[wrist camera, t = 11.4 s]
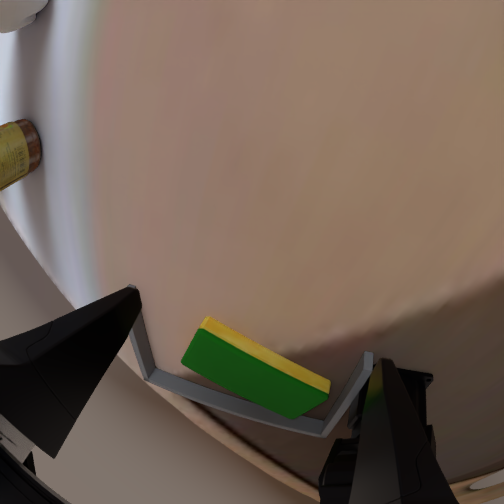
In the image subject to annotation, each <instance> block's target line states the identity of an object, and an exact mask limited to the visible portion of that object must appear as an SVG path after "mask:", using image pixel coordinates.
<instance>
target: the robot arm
mask: <svg viewBox="0 0 504 504" xmlns="http://www.w3.org/2000/svg"><path fill="white" fill-rule="evenodd" d="M141 309H142V303H141V298H140V293H139V290H138V289H136V288H133V287H126V288H124V289H121V290H119V291H117V292H115V293H113V294H110V295H108V296H106V297H104V298H101V299H99V300H97V301H95V302H92V303H90V304H88V305H86V306H84V307H81V308H79V309H77V310H75V311H73V312H70V313H68V314H66V315H64V316H62V317H59V318H57V319H55V320H54V321H51V322H48V323H46V324H44V325H42V326H39V327H37V328H35V329H32V330H30V331H27V332H25V333H21V334H19V335H16V336H13V337H11V338H8V339H5V340H1V341H0V504H71V503H69V502H68V501H67V500H65V499H64V498H63V497H61V496H60V495H59V494H57V493H56V492H55V491H53V490H52V489H51V488H50V487H48V486H47V485H46V484H45V483H43V482H42V481H41V480H40V479H39V478H38V477H36V472H35V466H34V460H33V454H32V451H31V450H32V449H33V447H34V446H35V445H36V446H38V447H39V448H40V449H41V450H43V451H44V452H45V453H46V454H48V455H49V456H51V457H52V458H53V459H54V458H55V457H56V455H57V454H58V452H59V450H60V448H61V446H62V445H63V443H64V441H65V439H66V438H67V436H68V434H69V432H70V431H71V429H72V427H73V425H74V423H75V422H76V420H77V418H78V417H79V415H80V413H81V411H82V410H83V408H84V406H85V405H86V403H87V401H88V400H89V398H90V396H91V395H92V393H93V391H94V390H95V388H96V386H97V385H98V383H99V382H100V380H101V378H102V377H103V375H104V373H105V372H106V370H107V369H108V367H109V366H110V364H111V362H112V361H113V359H114V358H115V356H116V355H117V353H118V352H119V350H120V348H121V347H122V345H123V344H124V342H125V340H126V339H127V337H128V335H129V333H130V331H131V329H132V327H133V325H134V323H135V321H136V319H137V317H138V315H139V313H140V311H141ZM432 381H433V375H432V374H429V373H423V372H417V371H411V370H405V369H400V368H396V366H395V364H394V362H393V361H392V360H391V359H388V358H383V357H382V358H380V359H379V361H378V362H377V364H376V365H373V370H372V373H371V374H370V376H369V377H368V379H367V380H366V382H365V384H364V385H363V387H362V388H361V390H360V391H359V392H358V394H357V395H356V397H355V398H354V400H353V401H352V403H351V405H350V412H349V419H348V425H347V427H348V428H349V429H352V436H351V438H350V439H342V438H339V439H336V440H335V442H334V445H333V447H332V449H331V451H330V454H329V456H328V458H327V461H326V463H325V465H324V467H323V470H322V472H321V474H320V476H319V482H318V486H319V496H320V504H459V503H458V501H457V500H456V498H455V496H454V494H453V492H452V490H451V488H450V486H449V484H448V482H447V480H446V478H445V477H444V475H443V473H442V471H441V469H440V466H439V464H438V462H437V460H436V442H435V436H434V431H433V426H432V424H431V425H427V414H426V388H427V387H428V386H429V385H430V384H431V382H432Z"/></svg>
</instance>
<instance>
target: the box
mask: <svg viewBox="0 0 504 504" xmlns="http://www.w3.org/2000/svg"><path fill="white" fill-rule="evenodd" d="M127 287H133V288H136V286H134V285H131V284H129V285H128V286H127ZM129 336H130V340H131V343H132V346H133V349H134V352H135V355H136V358H137V361H138V364H139V367H140V370H141V372H142V375H143V378H144V380H145V381H148V382H150V383H152V384H154V385H157V386H159V387H161V388H164V389H166V390H168V391H171V392H173V393H176V394H178V395H181V396H183V397H186V398H188V399H191V400H194V401H196V402H199V403H202V404H204V405H207V406H210V407H213V408H215V409H218V410H221V411H224V412H227V413H230V414H233V415H236V416H240V417H243V418H246V419H249V420H253V421H256V422H260V423H263V424H267V425H270V426H274V427H278V428H282V429H285V430H289V431H294V432H298V433H302V434H306V435H311V436H316V437H321V438H326V437H327V436H328V434H329V433H330V432H331V430H332V429H333V428H334V426H335V425H336V424H337V422H338V421H339V420H340V418H341V417H342V416H343V414H344V413H345V411H346V410H347V409H348V407H349V406H350V404H351V403H352V401H353V400H354V398H355V397H356V395H357V394H358V392H359V391H360V390H361V388H362V387H363V385H364V384H365V382H366V380H367V379H368V377H369V376H370V374H371V373H372V370H373V353H372V352H367V351H365V352H364V354H363V355H362V357H361V359H360V361H359V363H358V365H357V366H356V368H355V370H354V372H353V374H352V375H351V377H350V379H349V381H348V382H347V384H346V386H345V387H344V389H343V391H342V392H341V394H340V396H339V397H338V399H337V401H336V402H335V404H334V406H333V407H332V409H331V410H330V412H329V413H328V415H327V417H326V418H325V420H324V421H323V420H318V419H313V418H309V417H305V416H299V417H297V418H295V419H288V418H286V417H284V416H282V415H279V414H277V413H275V412H273V411H271V410H268V409H266V408H264V407H262V406H260V405H258V404H255V403H252V402H249V401H245V400H242V399H239V398H236V397H233V396H230V395H227V394H224V393H221V392H218V391H215V390H212V389H209V388H206V387H203V386H201V385H198V384H195V383H192V382H190V381H187V380H185V379H182V378H179V377H177V376H174V375H172V374H169V373H167V372H164V371H162V370H160V369H157V368H156V367H155V364H154V360H153V357H152V353H151V349H150V345H149V342H148V338H147V334H146V330H145V326H144V321H143V317H142V313H141V311H140V313H139V315H138V317H137V319H136V321H135V323H134V325H133V327H132V329H131V331H130V333H129Z"/></svg>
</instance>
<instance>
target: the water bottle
mask: <svg viewBox="0 0 504 504" xmlns="http://www.w3.org/2000/svg"><path fill="white" fill-rule="evenodd" d="M47 3H48V0H0V32H1V33H8V32H12V31H15V30H18V29H21V28H23V27H25V26H27V25H29V24H30V23H32V22H33V21H34V20H35V19H36V14H35V13H37V12H39V11H40V10H42V9H43V8H44V7H45V6H46V4H47Z"/></svg>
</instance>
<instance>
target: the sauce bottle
mask: <svg viewBox="0 0 504 504" xmlns="http://www.w3.org/2000/svg"><path fill="white" fill-rule="evenodd" d="M40 156H41V146H40V141H39V137H38V134H37V131H36V130H35V128H34V126H33V124H32V123H31V122H30V121H28V120H26V119H21V120H17V121H15V122H8V123H6V124H4V125H1V126H0V191H2V190H4V189H5V188H7V187H9V186H10V185H12V184H14V183H15V182H17V181H19V180H21V179H22V178H24V177H26V176H27V175H28V174H29V173H31V172H32V171H34V170H35V169H36V168H37V167H38V165H39V162H40Z"/></svg>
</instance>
